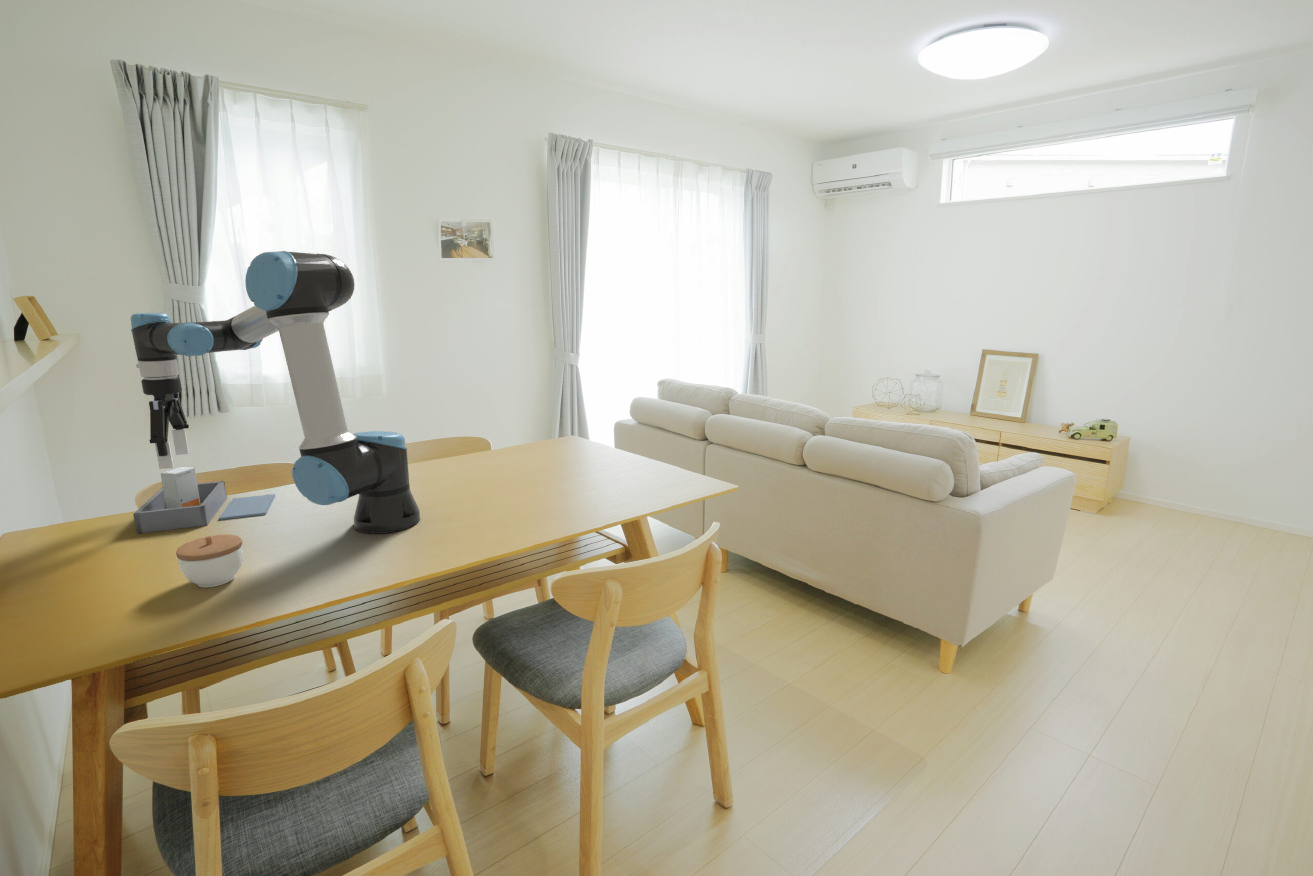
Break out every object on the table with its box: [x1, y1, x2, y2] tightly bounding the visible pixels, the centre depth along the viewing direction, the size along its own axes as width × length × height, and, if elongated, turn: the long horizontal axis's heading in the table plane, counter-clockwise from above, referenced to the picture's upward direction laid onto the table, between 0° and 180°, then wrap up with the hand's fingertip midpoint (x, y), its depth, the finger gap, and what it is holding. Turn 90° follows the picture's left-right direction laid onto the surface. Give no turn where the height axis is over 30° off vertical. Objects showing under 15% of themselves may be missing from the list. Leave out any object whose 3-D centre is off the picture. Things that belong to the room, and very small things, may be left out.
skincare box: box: [160, 466, 202, 509], centre depth 161 cm, size 6×4×12 cm
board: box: [219, 493, 276, 521], centre depth 167 cm, size 16×10×1 cm, turn 23°
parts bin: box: [133, 480, 228, 535], centre depth 161 cm, size 22×14×5 cm, turn 23°
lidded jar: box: [175, 534, 244, 589], centre depth 125 cm, size 11×11×9 cm
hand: (175, 460), depth 159 cm, fingers open, 13 cm apart
